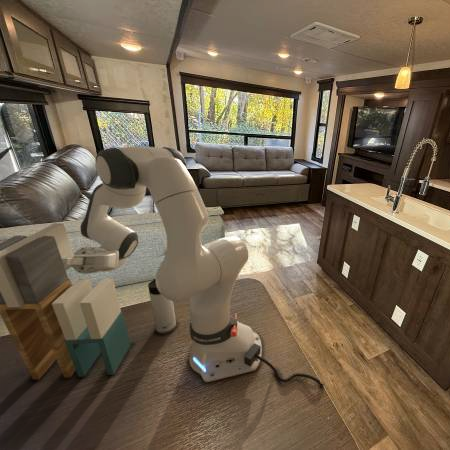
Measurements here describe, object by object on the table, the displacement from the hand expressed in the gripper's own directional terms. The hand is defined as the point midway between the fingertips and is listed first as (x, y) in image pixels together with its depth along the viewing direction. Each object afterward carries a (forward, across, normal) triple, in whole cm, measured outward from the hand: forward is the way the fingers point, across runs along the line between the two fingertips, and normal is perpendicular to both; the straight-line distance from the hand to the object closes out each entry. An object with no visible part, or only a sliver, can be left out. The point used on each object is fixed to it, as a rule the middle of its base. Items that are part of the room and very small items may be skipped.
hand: (56, 261), depth 68 cm
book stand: (-8, 0, +30) cm, 31 cm away
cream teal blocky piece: (-8, +11, +30) cm, 32 cm away
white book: (+2, 0, +5) cm, 6 cm away
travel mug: (-18, +24, +24) cm, 38 cm away
